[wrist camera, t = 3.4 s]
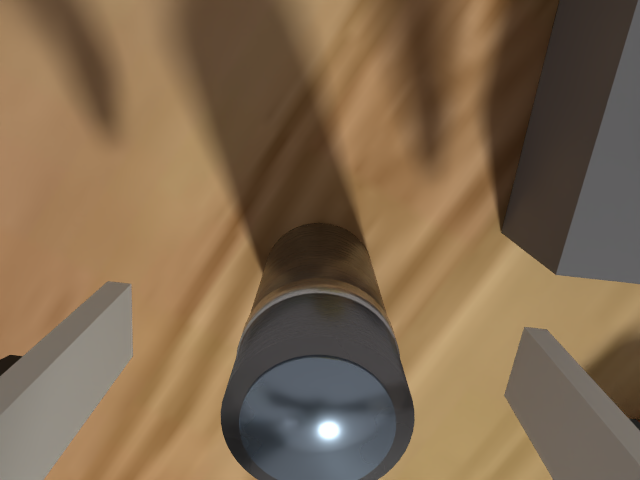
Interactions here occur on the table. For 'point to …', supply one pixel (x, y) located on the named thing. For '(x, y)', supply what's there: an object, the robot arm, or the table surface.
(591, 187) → the camera body
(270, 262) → the lens
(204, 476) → the table surface
